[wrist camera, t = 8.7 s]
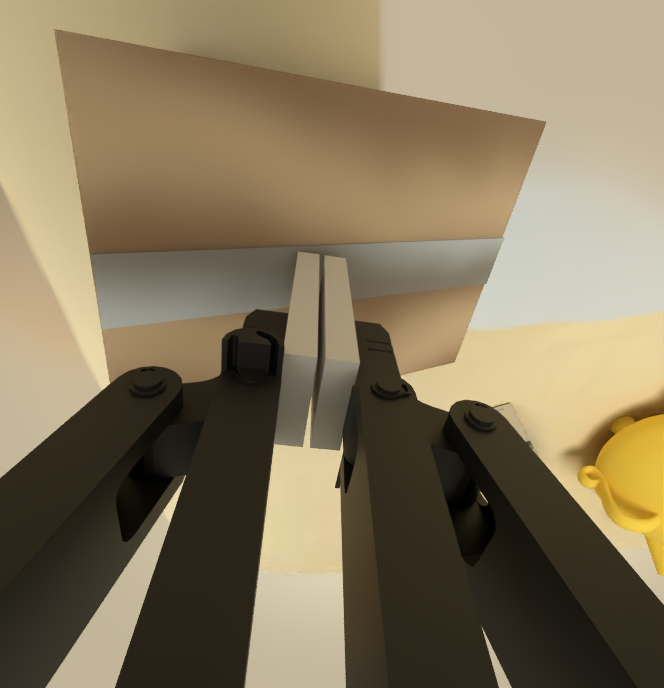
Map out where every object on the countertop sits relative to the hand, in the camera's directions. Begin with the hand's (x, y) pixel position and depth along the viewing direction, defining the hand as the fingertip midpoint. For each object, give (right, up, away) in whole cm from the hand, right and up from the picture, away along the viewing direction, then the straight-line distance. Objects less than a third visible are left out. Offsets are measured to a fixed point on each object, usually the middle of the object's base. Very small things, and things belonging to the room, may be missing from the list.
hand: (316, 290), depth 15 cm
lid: (+1, +1, +2) cm, 2 cm away
